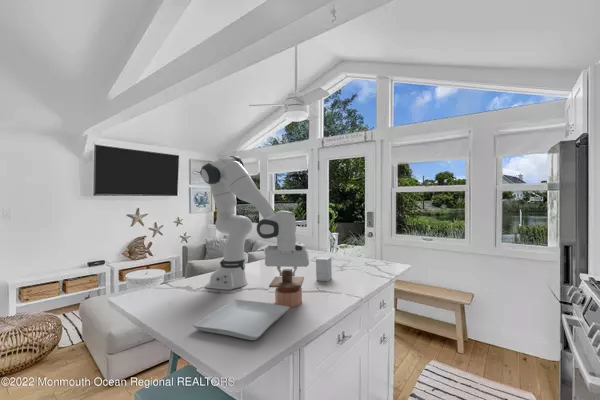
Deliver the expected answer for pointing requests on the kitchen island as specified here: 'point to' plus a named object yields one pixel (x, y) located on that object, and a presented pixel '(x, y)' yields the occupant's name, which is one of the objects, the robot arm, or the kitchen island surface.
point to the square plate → (242, 319)
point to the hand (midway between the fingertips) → (287, 275)
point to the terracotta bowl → (288, 296)
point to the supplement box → (323, 269)
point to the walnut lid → (287, 280)
